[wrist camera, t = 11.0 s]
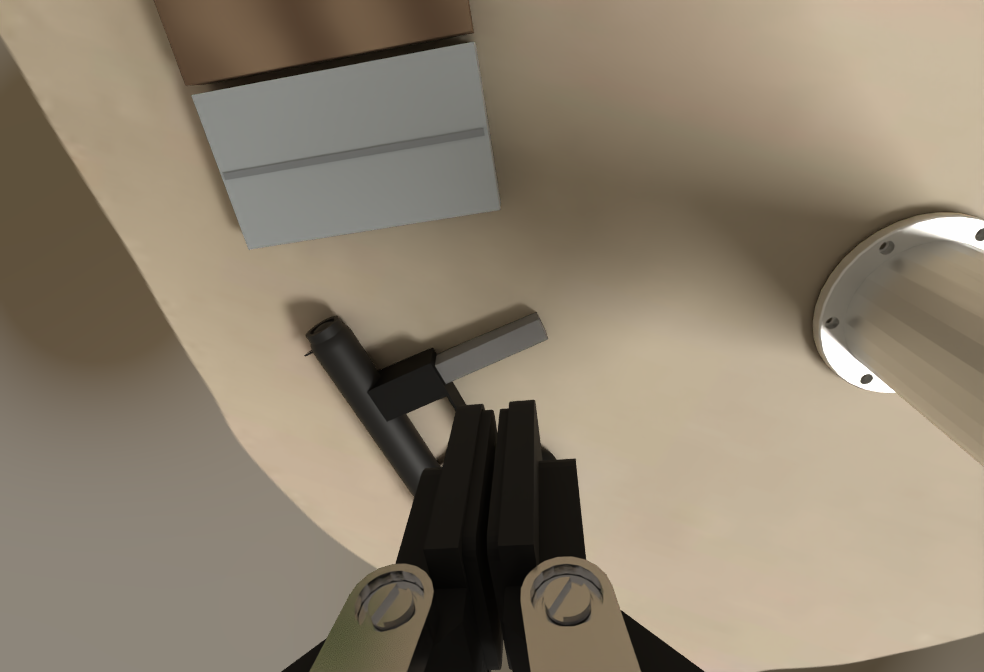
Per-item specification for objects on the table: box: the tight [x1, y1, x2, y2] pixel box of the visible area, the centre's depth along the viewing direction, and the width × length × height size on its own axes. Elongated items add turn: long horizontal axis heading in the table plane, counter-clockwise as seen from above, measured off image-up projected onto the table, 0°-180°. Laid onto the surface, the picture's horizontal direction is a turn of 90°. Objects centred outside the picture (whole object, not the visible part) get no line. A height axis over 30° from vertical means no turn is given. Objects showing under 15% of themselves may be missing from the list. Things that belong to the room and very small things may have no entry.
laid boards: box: [191, 42, 501, 250], centre depth 32 cm, size 16×9×2 cm, turn 99°
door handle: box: [304, 312, 556, 497], centre depth 40 cm, size 3×20×16 cm
